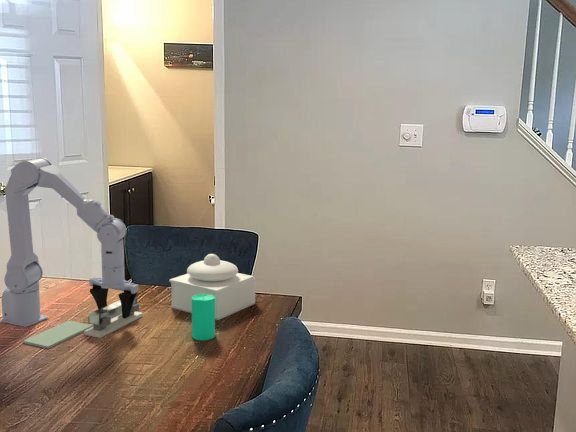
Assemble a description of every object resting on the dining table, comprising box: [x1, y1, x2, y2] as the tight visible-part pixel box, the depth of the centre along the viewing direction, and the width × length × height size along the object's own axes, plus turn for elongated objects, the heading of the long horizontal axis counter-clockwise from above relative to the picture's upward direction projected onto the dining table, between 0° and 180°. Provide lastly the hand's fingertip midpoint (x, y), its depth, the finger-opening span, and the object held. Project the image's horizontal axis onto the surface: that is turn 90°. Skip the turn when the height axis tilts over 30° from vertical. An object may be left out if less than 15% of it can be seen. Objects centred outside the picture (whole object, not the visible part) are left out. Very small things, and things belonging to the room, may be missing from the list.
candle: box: [191, 291, 216, 341], centre depth 162 cm, size 6×6×12 cm
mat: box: [22, 320, 93, 350], centre depth 161 cm, size 8×16×1 cm, turn 157°
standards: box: [83, 302, 144, 339], centre depth 169 cm, size 5×18×4 cm, turn 157°
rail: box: [88, 297, 138, 325], centre depth 168 cm, size 3×16×3 cm, turn 157°
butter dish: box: [169, 253, 256, 321], centre depth 185 cm, size 18×18×16 cm
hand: (114, 315), depth 169 cm, fingers open, 7 cm apart
